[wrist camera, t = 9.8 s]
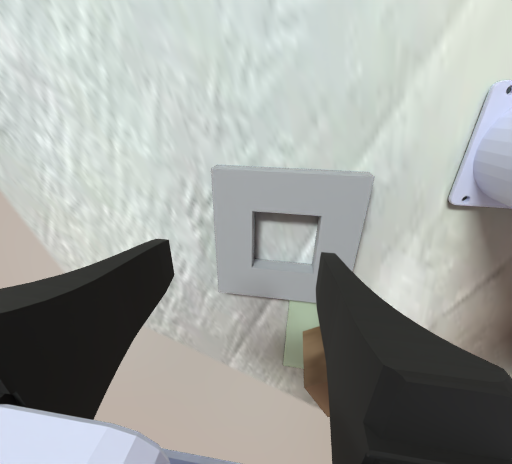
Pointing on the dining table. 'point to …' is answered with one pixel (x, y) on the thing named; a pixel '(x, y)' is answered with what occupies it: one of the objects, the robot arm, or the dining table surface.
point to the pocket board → (289, 202)
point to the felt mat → (298, 331)
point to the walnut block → (315, 368)
